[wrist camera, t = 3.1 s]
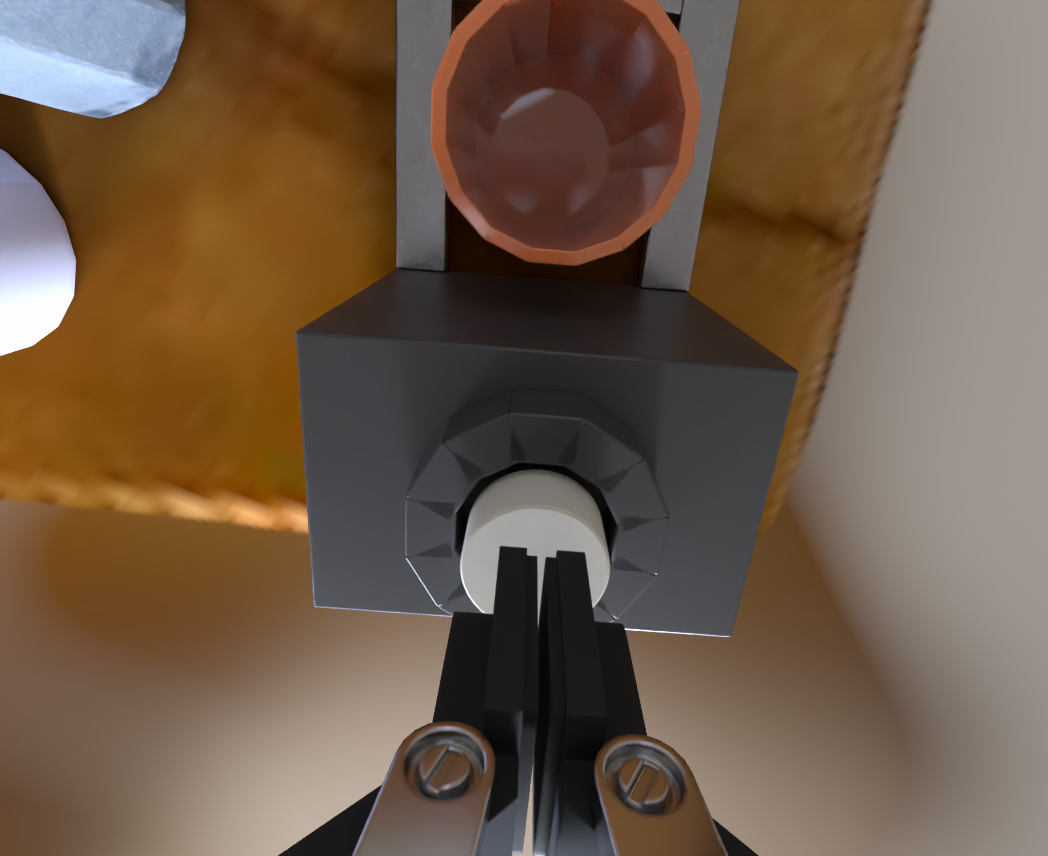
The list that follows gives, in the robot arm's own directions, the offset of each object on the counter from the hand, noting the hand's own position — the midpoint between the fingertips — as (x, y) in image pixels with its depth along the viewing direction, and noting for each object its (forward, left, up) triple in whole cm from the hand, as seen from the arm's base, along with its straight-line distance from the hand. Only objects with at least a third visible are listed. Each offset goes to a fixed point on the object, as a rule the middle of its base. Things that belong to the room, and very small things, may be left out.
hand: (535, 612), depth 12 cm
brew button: (0, 0, -3) cm, 3 cm away
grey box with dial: (0, 0, -17) cm, 17 cm away
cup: (-9, 0, -17) cm, 19 cm away
